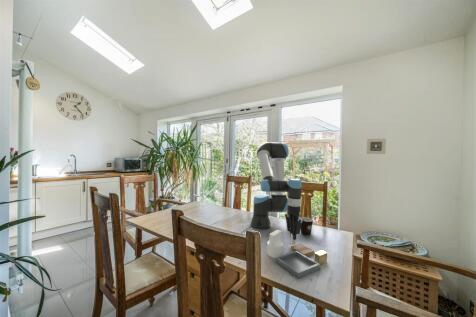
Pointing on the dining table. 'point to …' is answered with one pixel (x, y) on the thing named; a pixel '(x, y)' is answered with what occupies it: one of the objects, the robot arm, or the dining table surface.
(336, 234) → the dining table surface
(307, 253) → the tan rounded-edge slab
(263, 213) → the robot arm
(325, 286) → the dining table surface
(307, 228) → the coffee mug
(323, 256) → the block
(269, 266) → the dining table surface
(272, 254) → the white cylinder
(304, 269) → the tray
